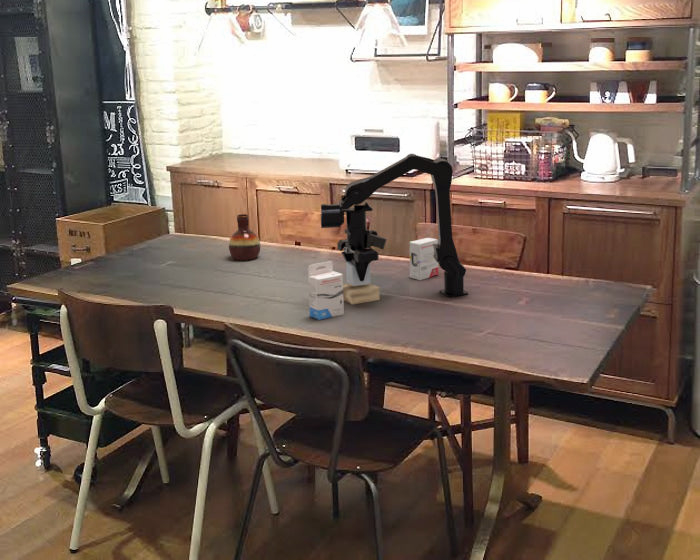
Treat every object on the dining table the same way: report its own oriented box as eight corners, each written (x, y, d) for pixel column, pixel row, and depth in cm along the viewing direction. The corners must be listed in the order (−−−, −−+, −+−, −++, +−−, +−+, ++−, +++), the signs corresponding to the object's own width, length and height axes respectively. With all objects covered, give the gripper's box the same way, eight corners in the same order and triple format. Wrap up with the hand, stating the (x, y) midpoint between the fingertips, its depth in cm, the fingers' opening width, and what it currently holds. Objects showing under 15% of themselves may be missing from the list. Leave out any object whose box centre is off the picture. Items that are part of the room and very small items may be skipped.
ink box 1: (319, 320, 239) (316, 268, 236) (309, 316, 243) (306, 265, 239) (344, 314, 244) (342, 263, 240) (334, 310, 248) (332, 259, 244)
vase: (223, 258, 311) (220, 216, 307) (248, 253, 318) (245, 211, 314) (241, 263, 303) (238, 220, 299) (267, 257, 310) (264, 214, 306)
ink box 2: (428, 272, 284) (428, 236, 280) (439, 275, 280) (439, 239, 277) (408, 277, 278) (408, 241, 275) (419, 280, 274) (419, 244, 271)
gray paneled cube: (370, 283, 256) (369, 263, 254) (352, 286, 254) (352, 265, 252) (363, 279, 261) (363, 259, 259) (346, 281, 259) (345, 261, 257)
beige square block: (379, 300, 257) (379, 287, 256) (352, 305, 253) (351, 292, 252) (365, 293, 264) (365, 280, 263) (338, 298, 261) (338, 285, 260)
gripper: (394, 229, 247) (396, 282, 251) (370, 217, 264) (372, 268, 268) (357, 233, 243) (359, 287, 248) (335, 221, 260) (338, 272, 265)
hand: (358, 278), depth 257 cm, fingers closed on gray paneled cube, 5 cm apart
